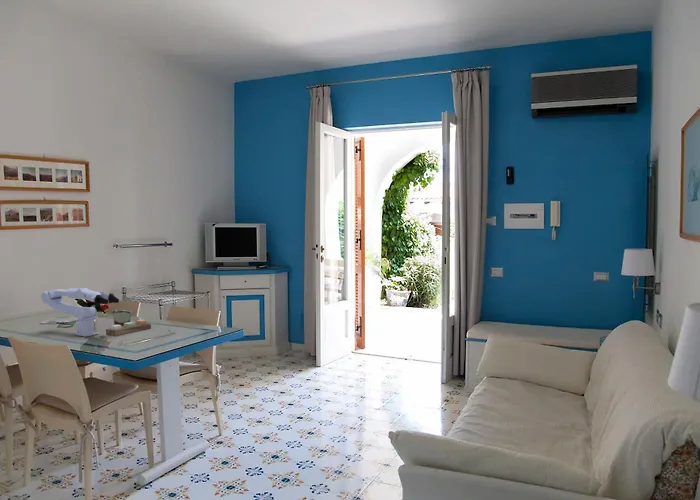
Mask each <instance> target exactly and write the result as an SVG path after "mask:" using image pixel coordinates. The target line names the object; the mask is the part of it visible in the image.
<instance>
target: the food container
mask: <svg viewBox="0 0 700 500" xmlns="http://www.w3.org/2000/svg"><path fill="white" fill-rule="evenodd" d="M132 313H133V312H132V309H131V308H117V309H112V311H111V314H112V317H113V324H114V325H121V326H124V323H127V322H131V319H132V318H131V316H132Z"/></svg>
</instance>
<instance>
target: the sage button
mask: <svg viewBox="0 0 700 500" xmlns="http://www.w3.org/2000/svg"><path fill="white" fill-rule="evenodd" d="M134 323H135V322H131V321H130V322H127V323H124V327H133V326H134Z"/></svg>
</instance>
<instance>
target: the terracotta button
mask: <svg viewBox="0 0 700 500" xmlns="http://www.w3.org/2000/svg"><path fill="white" fill-rule="evenodd" d="M135 323H136V324H138V325H142V324H146V323H147V320H146V319H138V320H135Z"/></svg>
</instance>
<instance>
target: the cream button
mask: <svg viewBox="0 0 700 500" xmlns="http://www.w3.org/2000/svg"><path fill="white" fill-rule="evenodd" d="M110 328H111V330H118V329H121V325H110Z"/></svg>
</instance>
